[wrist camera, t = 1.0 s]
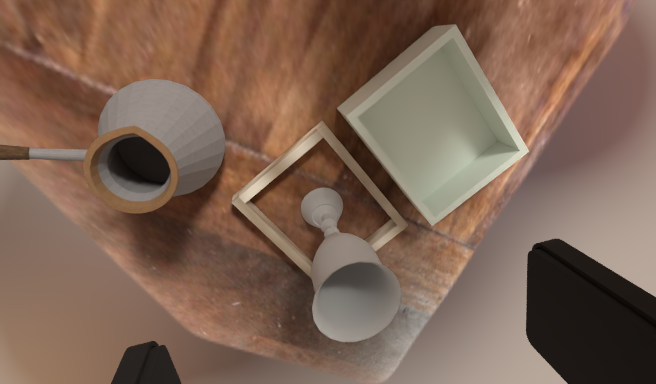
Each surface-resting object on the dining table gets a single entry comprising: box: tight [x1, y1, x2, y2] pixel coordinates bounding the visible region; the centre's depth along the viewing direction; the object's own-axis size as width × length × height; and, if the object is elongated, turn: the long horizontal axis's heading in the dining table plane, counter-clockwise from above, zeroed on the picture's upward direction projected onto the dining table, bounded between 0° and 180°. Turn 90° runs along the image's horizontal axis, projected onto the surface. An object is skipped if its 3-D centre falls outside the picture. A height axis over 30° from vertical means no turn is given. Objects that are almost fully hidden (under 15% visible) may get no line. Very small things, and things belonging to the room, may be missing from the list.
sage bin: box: [337, 24, 529, 226], centre depth 41 cm, size 13×16×5 cm
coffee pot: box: [0, 79, 225, 213], centre depth 32 cm, size 21×12×15 cm, turn 78°
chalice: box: [301, 188, 401, 342], centre depth 37 cm, size 7×7×18 cm
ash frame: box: [232, 121, 408, 279], centre depth 44 cm, size 13×16×2 cm
